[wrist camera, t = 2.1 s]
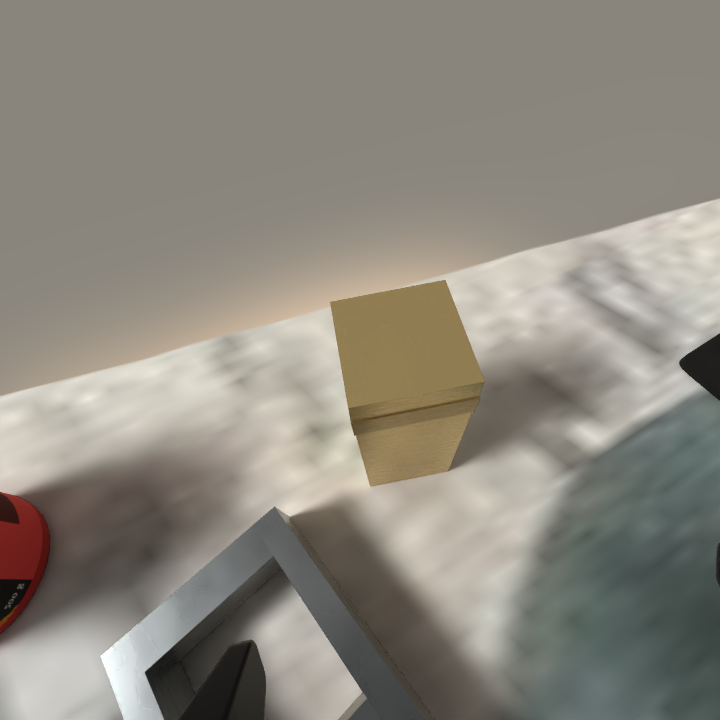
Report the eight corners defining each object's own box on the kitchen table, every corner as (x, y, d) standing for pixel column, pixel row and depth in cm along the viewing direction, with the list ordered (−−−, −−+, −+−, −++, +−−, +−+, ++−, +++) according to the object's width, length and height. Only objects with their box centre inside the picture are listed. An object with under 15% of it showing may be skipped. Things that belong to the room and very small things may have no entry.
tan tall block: (449, 471, 22) (486, 382, 12) (369, 487, 22) (346, 410, 12) (428, 399, 24) (446, 278, 15) (356, 413, 24) (328, 301, 15)
